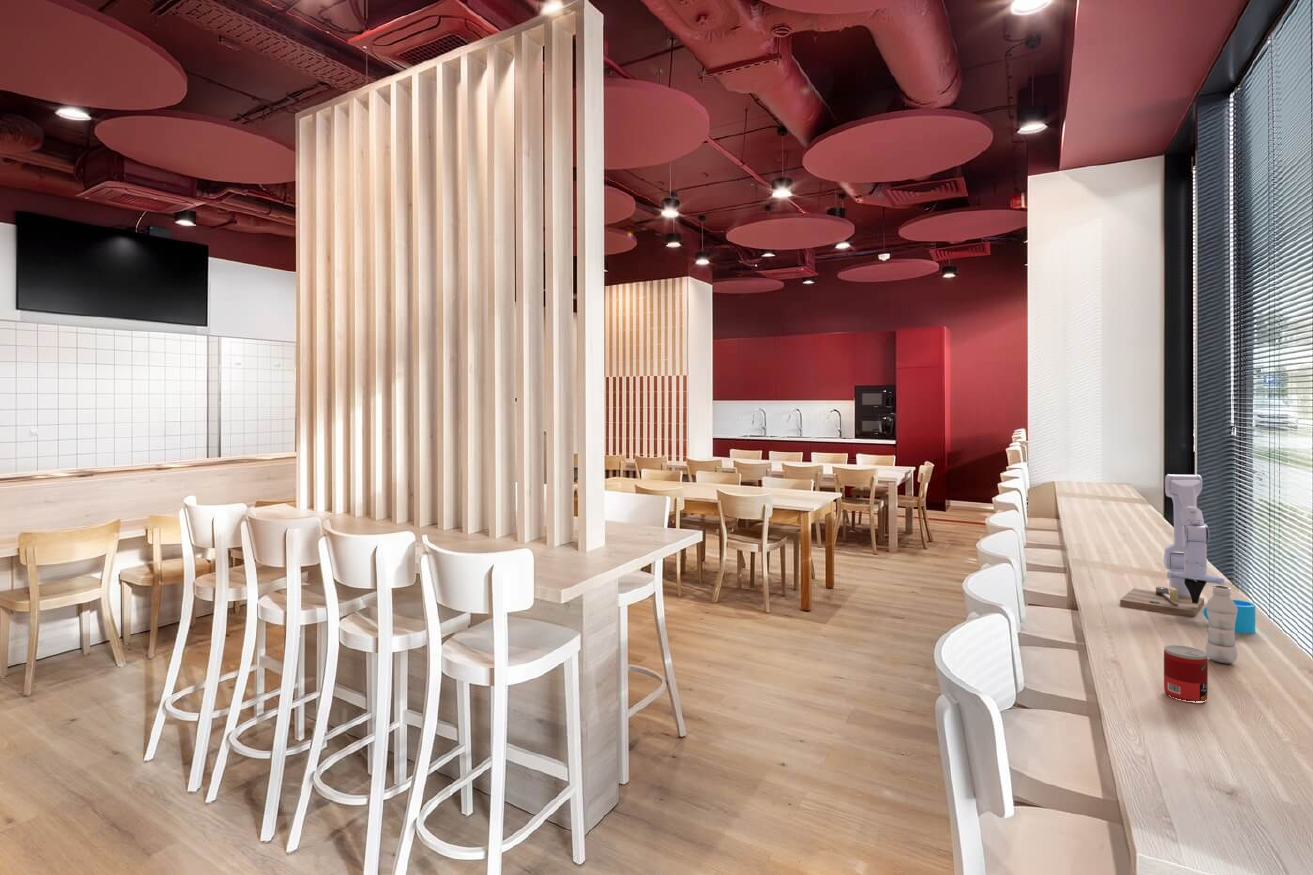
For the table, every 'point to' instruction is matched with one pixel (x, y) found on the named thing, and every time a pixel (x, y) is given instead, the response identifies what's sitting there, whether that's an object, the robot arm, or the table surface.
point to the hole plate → (1161, 602)
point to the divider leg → (1165, 592)
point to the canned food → (1185, 673)
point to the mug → (1242, 617)
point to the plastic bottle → (1221, 626)
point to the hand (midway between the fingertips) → (1195, 602)
